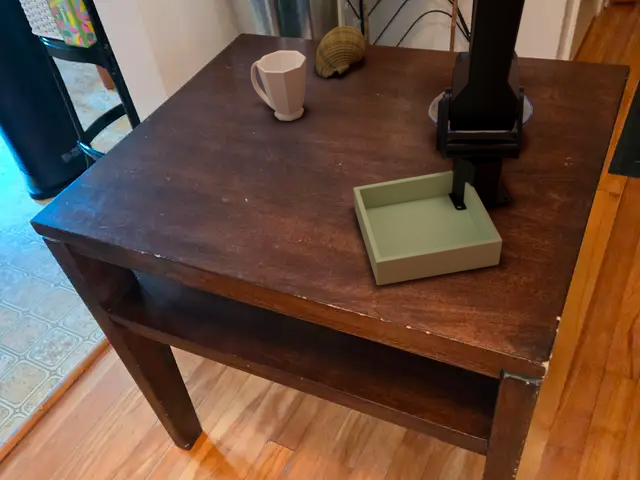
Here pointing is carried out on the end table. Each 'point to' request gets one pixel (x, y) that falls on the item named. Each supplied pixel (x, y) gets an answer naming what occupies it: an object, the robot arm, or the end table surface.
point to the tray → (424, 228)
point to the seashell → (339, 50)
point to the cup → (282, 82)
